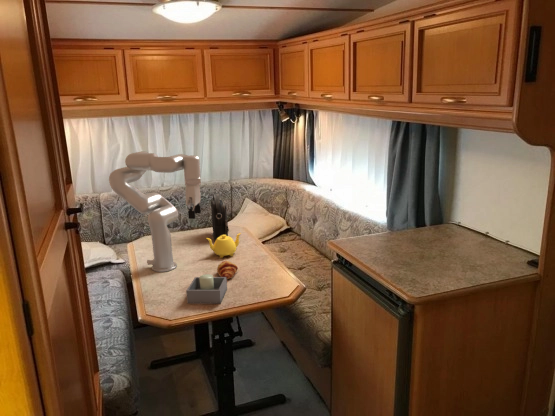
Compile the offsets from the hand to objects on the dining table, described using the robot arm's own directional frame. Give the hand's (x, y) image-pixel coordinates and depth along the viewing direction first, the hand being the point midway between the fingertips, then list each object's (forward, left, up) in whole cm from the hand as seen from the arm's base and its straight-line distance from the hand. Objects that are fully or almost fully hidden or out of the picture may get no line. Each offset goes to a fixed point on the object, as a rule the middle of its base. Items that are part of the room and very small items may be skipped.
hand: (194, 215), depth 225 cm
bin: (+11, -28, -30) cm, 42 cm away
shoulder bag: (-1, +57, -30) cm, 65 cm away
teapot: (+8, +26, -30) cm, 41 cm away
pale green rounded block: (+11, -27, -29) cm, 41 cm away
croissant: (+15, -1, -30) cm, 34 cm away
